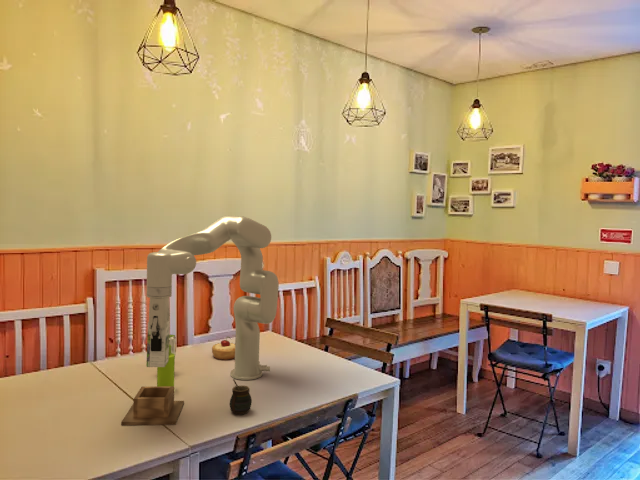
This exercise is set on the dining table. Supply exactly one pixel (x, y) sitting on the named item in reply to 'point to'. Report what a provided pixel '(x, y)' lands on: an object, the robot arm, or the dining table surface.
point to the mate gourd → (240, 399)
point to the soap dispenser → (167, 370)
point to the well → (154, 407)
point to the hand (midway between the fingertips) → (158, 347)
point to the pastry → (224, 350)
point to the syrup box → (158, 356)
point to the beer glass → (173, 345)
